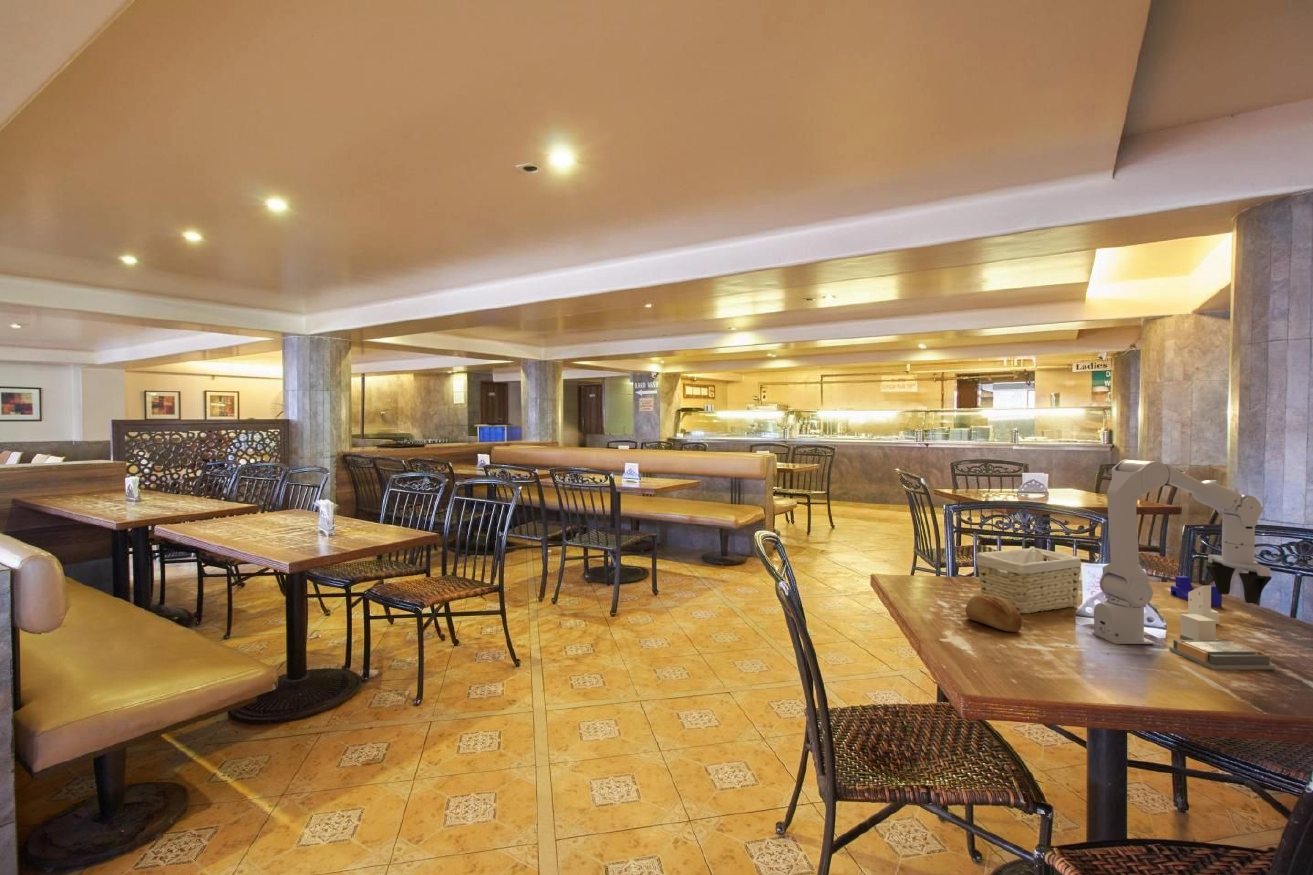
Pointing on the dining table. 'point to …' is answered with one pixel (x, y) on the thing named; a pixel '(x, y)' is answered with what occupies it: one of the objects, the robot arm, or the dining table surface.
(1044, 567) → the storage basket
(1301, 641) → the dining table surface
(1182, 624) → the block
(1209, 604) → the white angled block
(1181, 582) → the cable clip
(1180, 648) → the rail panel
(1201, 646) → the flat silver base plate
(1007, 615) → the bread roll
